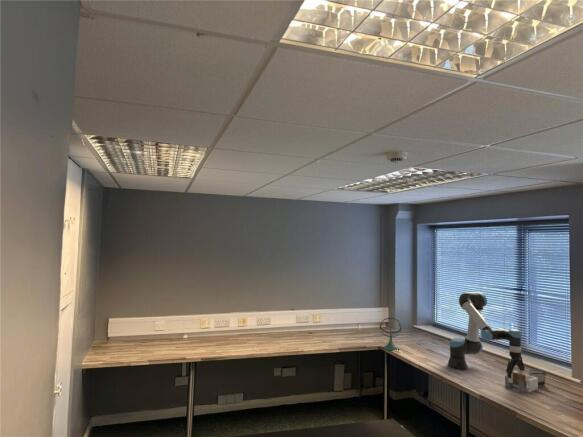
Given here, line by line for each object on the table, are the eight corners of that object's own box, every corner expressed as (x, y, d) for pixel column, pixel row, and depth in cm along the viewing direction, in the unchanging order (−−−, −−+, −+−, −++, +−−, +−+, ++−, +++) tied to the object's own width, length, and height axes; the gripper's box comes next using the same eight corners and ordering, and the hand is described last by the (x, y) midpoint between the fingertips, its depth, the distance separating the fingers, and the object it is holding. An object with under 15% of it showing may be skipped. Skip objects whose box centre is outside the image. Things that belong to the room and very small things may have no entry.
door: (507, 381, 274) (507, 370, 275) (508, 381, 275) (508, 370, 276) (524, 387, 264) (523, 375, 265) (525, 386, 265) (525, 375, 266)
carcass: (503, 385, 276) (503, 374, 276) (515, 381, 284) (515, 371, 284) (525, 393, 262) (525, 381, 262) (537, 389, 270) (537, 377, 271)
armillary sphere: (383, 353, 352) (383, 315, 357) (376, 347, 377) (376, 312, 382) (405, 353, 352) (405, 316, 357) (397, 347, 378) (397, 312, 382)
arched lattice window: (540, 382, 283) (540, 369, 284) (546, 385, 277) (546, 372, 278) (525, 382, 283) (524, 369, 284) (530, 385, 277) (530, 372, 277)
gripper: (510, 354, 262) (511, 385, 261) (529, 350, 275) (530, 379, 273) (500, 352, 269) (500, 382, 267) (519, 347, 281) (519, 376, 280)
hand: (515, 380), depth 270 cm, fingers open, 13 cm apart
